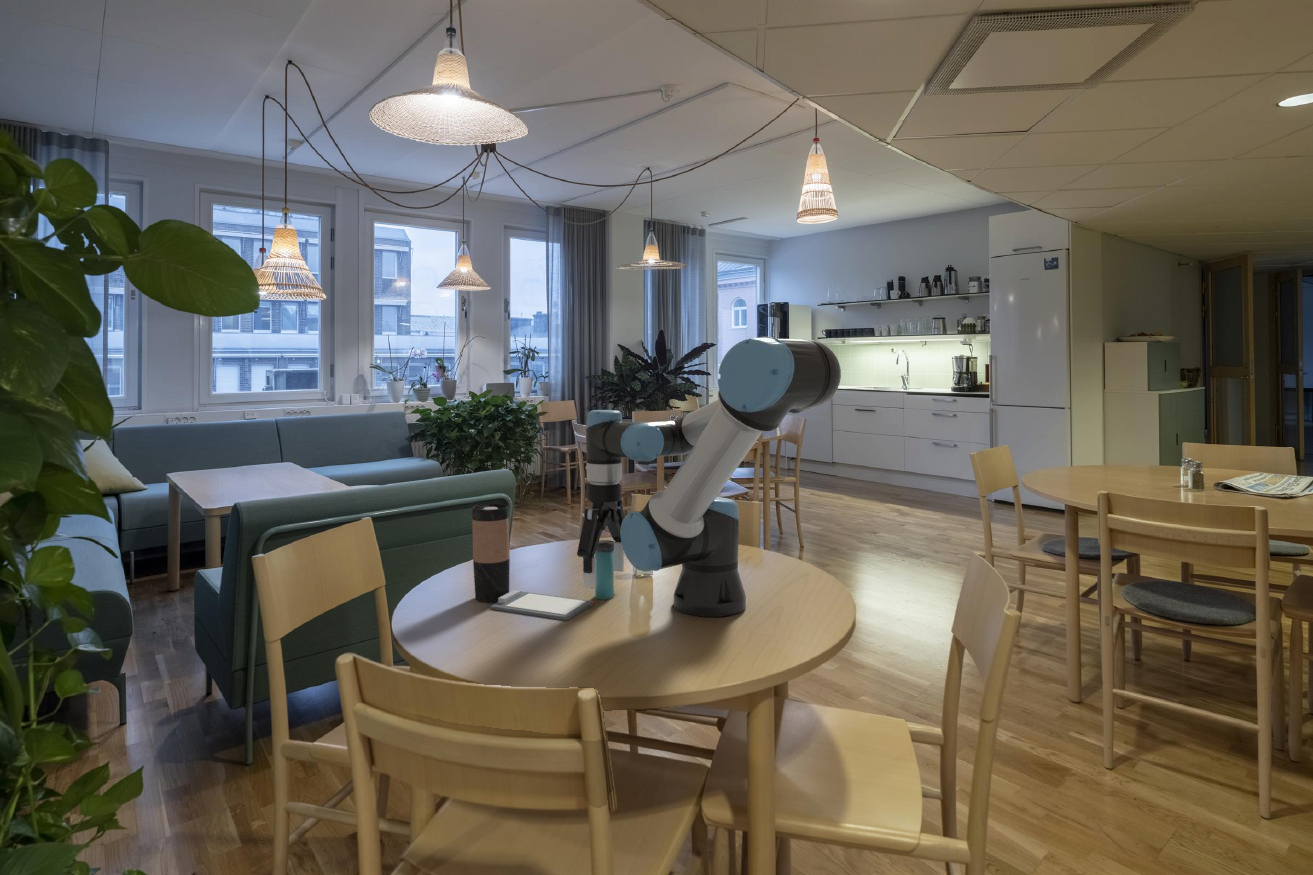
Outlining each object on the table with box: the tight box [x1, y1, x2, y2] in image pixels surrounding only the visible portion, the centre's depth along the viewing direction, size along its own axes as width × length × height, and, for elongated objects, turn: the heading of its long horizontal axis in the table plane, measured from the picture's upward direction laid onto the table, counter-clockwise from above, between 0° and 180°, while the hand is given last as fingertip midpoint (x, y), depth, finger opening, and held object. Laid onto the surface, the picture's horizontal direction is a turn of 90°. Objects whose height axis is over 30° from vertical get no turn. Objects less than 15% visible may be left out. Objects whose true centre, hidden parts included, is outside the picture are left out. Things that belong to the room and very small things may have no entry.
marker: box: [594, 539, 615, 600], centre depth 159 cm, size 4×4×12 cm
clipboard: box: [490, 589, 594, 621], centre depth 153 cm, size 18×11×2 cm, turn 68°
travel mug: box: [471, 502, 511, 604], centre depth 157 cm, size 8×8×20 cm
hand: (604, 578), depth 159 cm, fingers open, 13 cm apart
